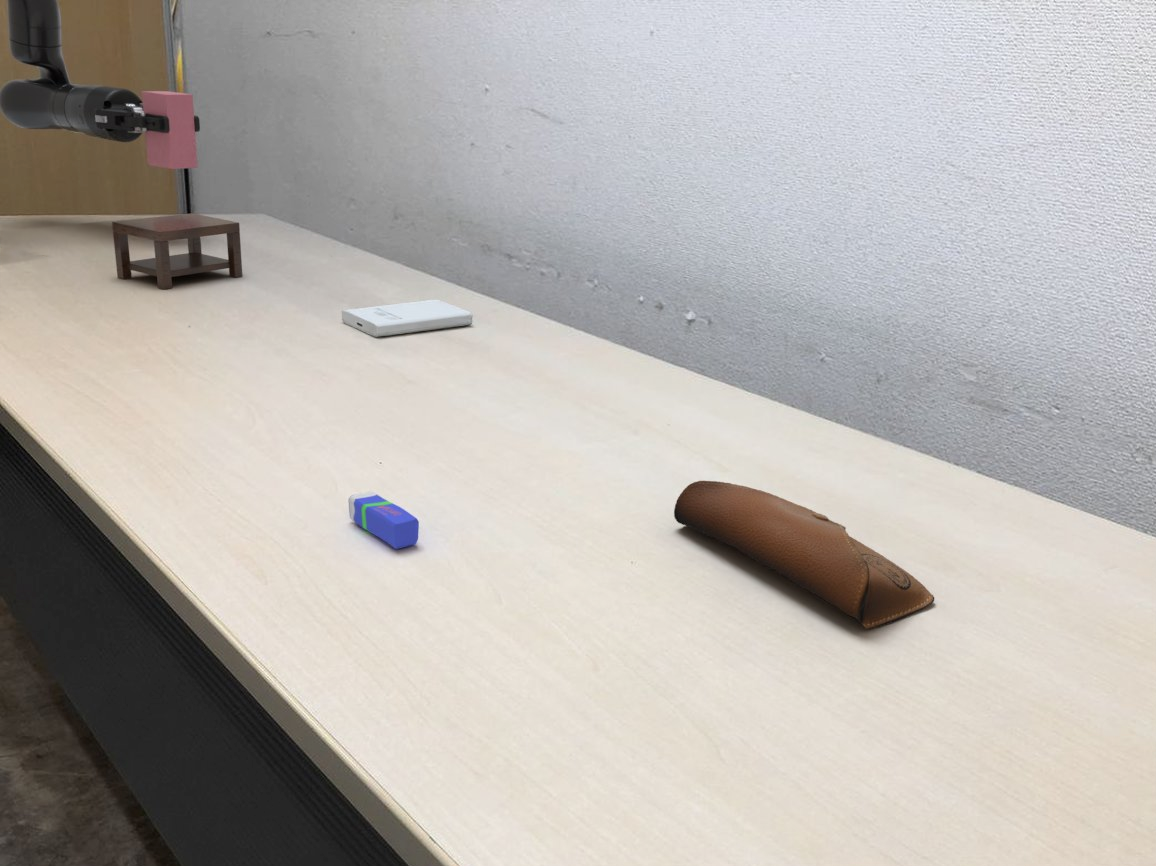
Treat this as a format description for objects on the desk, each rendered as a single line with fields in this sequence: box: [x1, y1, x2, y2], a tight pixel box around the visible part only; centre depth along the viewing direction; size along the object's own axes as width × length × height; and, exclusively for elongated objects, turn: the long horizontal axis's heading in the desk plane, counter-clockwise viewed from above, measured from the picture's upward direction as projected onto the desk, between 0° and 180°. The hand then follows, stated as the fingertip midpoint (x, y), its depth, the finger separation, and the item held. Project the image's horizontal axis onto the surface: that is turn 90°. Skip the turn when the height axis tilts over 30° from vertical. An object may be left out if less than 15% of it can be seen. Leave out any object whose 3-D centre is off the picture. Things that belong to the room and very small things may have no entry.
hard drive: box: [341, 298, 473, 338], centre depth 130 cm, size 2×8×12 cm
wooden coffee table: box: [111, 212, 243, 290], centre depth 143 cm, size 12×9×7 cm
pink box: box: [141, 90, 198, 170], centre depth 159 cm, size 4×5×10 cm
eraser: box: [348, 490, 420, 550], centre depth 76 cm, size 2×6×2 cm, turn 42°
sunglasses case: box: [673, 480, 935, 630], centre depth 76 cm, size 18×7×7 cm
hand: (182, 124), depth 157 cm, fingers closed on pink box, 4 cm apart
